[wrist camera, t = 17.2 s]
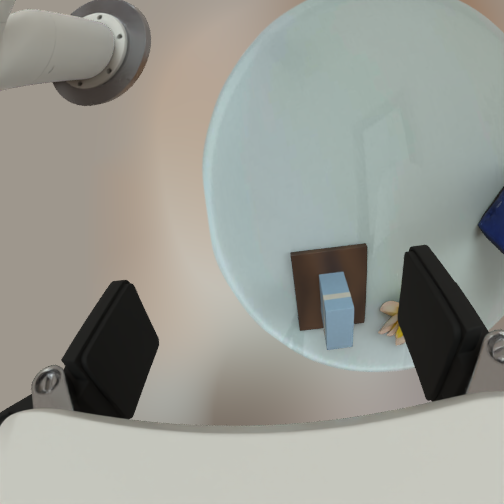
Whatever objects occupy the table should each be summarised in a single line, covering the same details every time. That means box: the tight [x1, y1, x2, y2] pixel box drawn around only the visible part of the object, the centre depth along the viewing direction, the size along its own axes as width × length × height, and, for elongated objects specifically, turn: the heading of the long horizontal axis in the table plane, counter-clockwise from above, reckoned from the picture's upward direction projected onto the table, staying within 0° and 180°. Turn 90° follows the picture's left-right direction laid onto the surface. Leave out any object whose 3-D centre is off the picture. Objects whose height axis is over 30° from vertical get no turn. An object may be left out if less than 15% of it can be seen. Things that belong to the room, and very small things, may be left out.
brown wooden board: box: [291, 244, 367, 331], centre depth 51 cm, size 12×16×1 cm
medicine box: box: [319, 272, 354, 350], centre depth 47 cm, size 4×8×9 cm, turn 10°
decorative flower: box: [378, 301, 406, 345], centre depth 48 cm, size 15×11×10 cm
